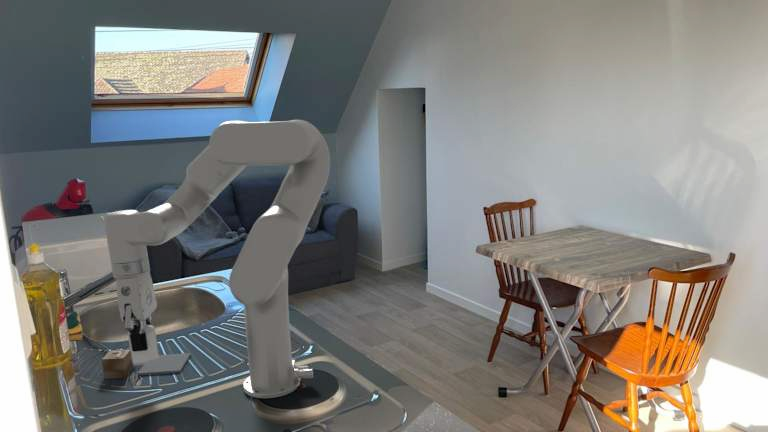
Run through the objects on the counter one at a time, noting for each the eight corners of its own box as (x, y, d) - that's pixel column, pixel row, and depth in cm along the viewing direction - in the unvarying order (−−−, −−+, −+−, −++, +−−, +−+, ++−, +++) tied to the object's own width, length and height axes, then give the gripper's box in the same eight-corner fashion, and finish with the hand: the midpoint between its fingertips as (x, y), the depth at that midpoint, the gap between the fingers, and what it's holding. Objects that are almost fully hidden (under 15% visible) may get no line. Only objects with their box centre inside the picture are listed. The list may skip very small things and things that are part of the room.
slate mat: (191, 355, 149) (190, 353, 149) (180, 372, 139) (180, 370, 139) (151, 357, 148) (150, 355, 148) (137, 375, 139) (137, 373, 139)
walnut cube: (133, 368, 143) (130, 348, 142) (126, 377, 138) (123, 357, 137) (112, 369, 143) (109, 349, 142) (104, 379, 138) (101, 358, 137)
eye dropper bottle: (153, 365, 128) (145, 313, 126) (129, 366, 129) (120, 314, 127) (162, 356, 133) (154, 306, 130) (139, 357, 133) (130, 307, 131)
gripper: (135, 276, 119) (148, 360, 122) (160, 256, 135) (171, 330, 139) (97, 279, 118) (112, 364, 122) (127, 259, 135) (139, 333, 138)
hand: (143, 345), depth 130 cm, fingers closed on eye dropper bottle, 3 cm apart
